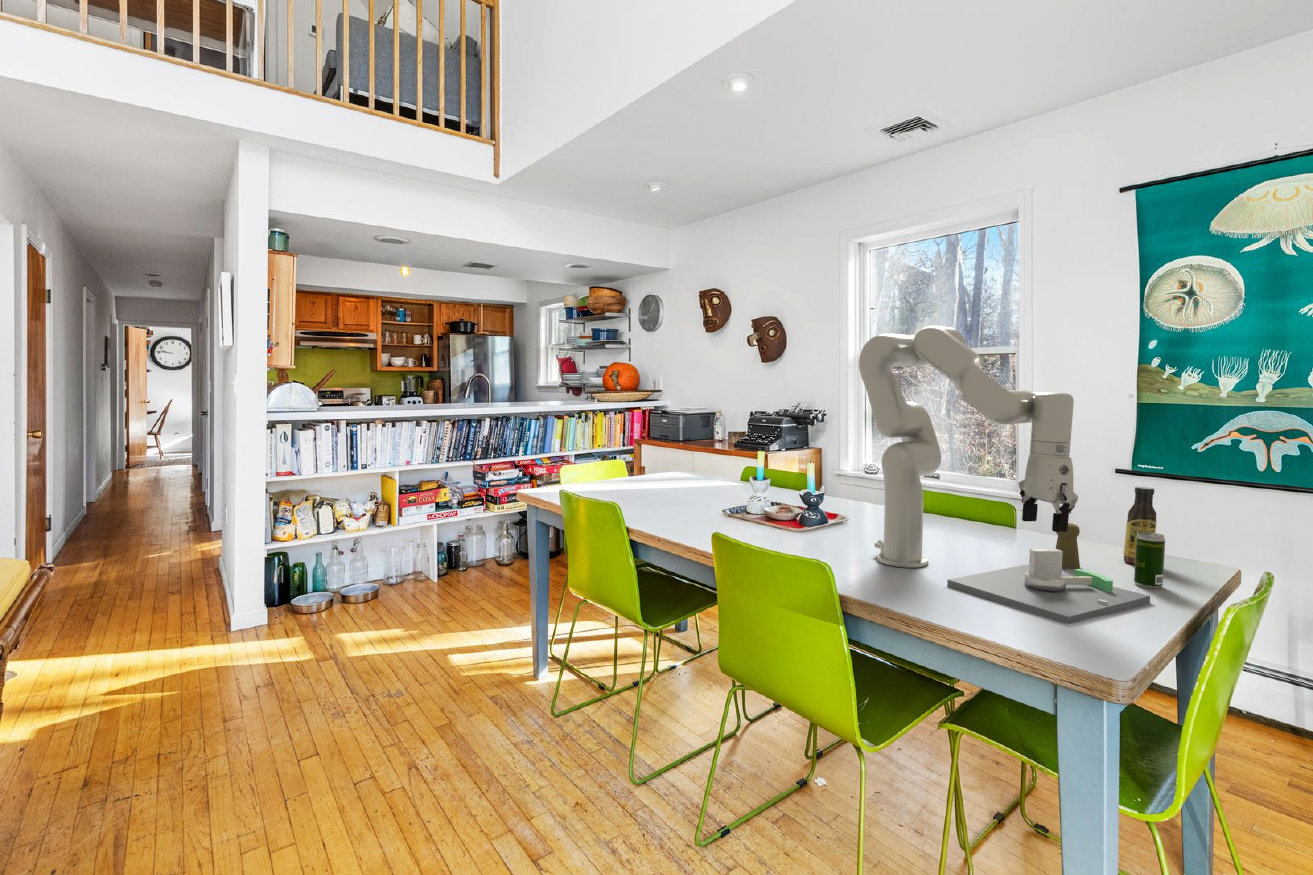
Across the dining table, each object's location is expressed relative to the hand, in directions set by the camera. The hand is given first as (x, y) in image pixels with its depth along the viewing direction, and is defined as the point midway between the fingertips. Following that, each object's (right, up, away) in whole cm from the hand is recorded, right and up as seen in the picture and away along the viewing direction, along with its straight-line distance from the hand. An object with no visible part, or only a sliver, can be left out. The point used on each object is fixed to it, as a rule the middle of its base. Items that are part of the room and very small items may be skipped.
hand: (1043, 526), depth 147 cm
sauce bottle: (+39, -13, +26) cm, 49 cm away
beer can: (+28, -15, +6) cm, 32 cm away
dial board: (0, -15, +1) cm, 15 cm away
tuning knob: (+3, -13, 0) cm, 14 cm away
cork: (+19, -14, +23) cm, 33 cm away
